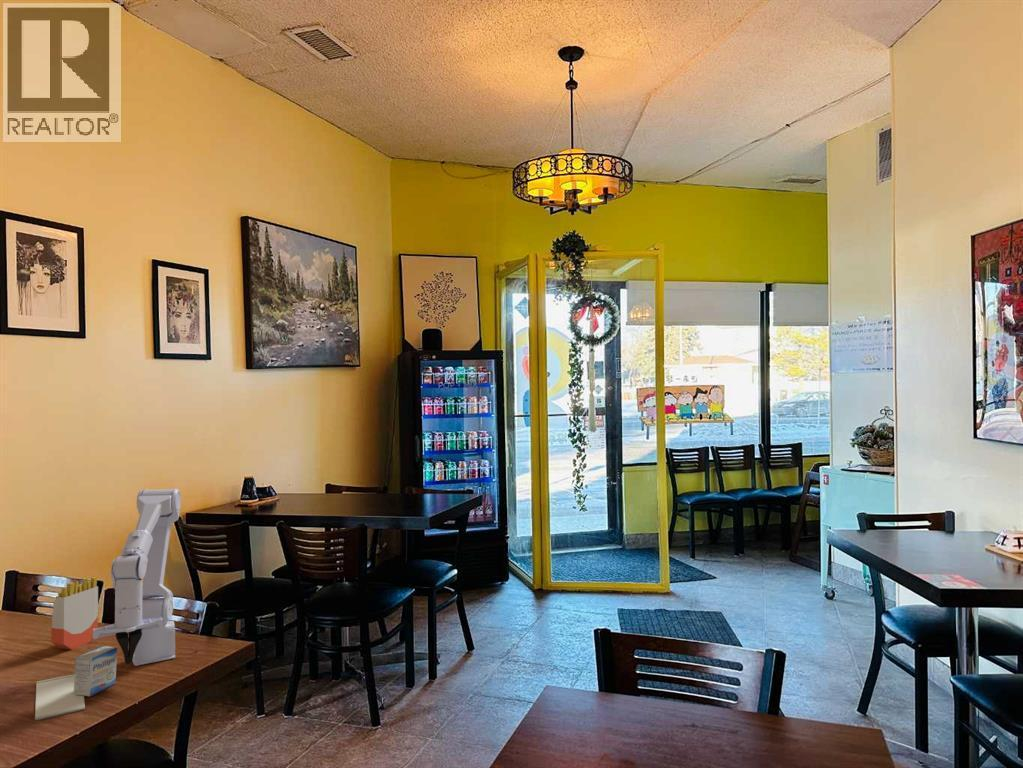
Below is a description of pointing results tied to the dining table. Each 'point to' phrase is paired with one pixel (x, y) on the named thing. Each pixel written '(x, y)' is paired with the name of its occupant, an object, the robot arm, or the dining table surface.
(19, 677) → the dining table surface
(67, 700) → the cream flat slab
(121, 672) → the dining table surface
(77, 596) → the french fries container
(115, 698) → the dining table surface
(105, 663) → the medicine box
